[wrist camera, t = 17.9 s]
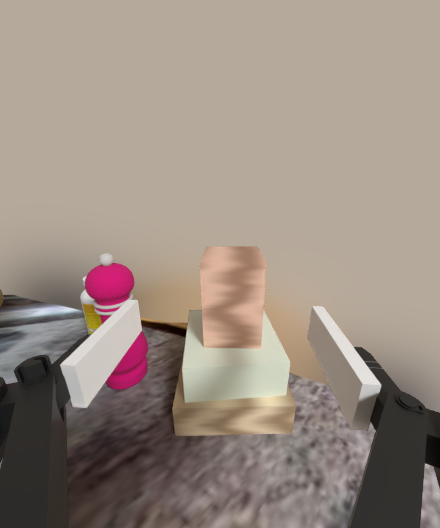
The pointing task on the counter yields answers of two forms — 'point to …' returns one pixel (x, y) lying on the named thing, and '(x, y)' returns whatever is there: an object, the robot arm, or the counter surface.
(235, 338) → the clay pillar block
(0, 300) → the stone disc
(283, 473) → the counter surface
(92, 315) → the supplement bottle
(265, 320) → the sage top block
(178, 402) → the oak base block
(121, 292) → the pepper mill
